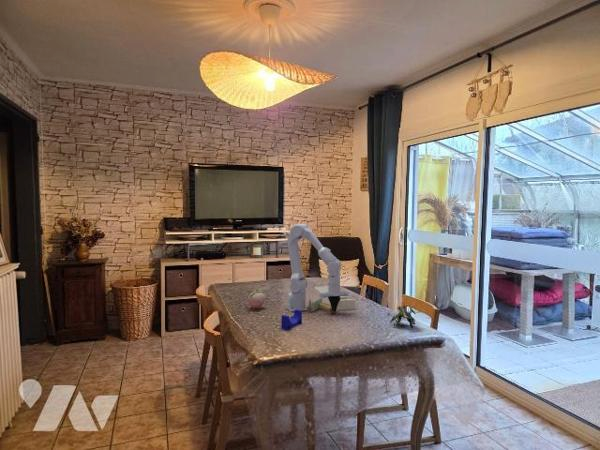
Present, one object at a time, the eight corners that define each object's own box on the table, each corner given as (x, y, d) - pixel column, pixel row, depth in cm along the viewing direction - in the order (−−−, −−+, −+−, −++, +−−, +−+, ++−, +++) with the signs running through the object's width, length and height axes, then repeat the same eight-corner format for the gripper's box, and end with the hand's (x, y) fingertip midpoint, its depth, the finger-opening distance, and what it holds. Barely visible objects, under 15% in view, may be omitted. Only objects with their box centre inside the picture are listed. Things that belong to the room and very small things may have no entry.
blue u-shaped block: (293, 321, 178) (293, 308, 177) (301, 323, 175) (301, 310, 175) (278, 328, 168) (278, 315, 167) (287, 330, 165) (287, 316, 165)
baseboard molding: (326, 300, 219) (346, 299, 222) (326, 295, 219) (346, 294, 221) (311, 288, 249) (329, 288, 252) (311, 284, 249) (329, 283, 252)
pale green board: (309, 312, 192) (309, 300, 192) (308, 311, 193) (308, 300, 193) (355, 308, 200) (355, 297, 199) (354, 308, 201) (354, 297, 201)
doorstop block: (329, 313, 192) (329, 308, 191) (318, 308, 200) (318, 303, 200) (336, 312, 194) (336, 307, 194) (325, 307, 202) (325, 302, 202)
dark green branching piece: (410, 339, 171) (423, 322, 164) (388, 336, 169) (400, 318, 162) (403, 319, 180) (415, 302, 173) (382, 315, 178) (393, 298, 171)
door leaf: (313, 311, 194) (313, 302, 193) (310, 311, 194) (310, 302, 194) (321, 305, 204) (322, 297, 204) (318, 305, 205) (318, 297, 205)
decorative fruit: (256, 305, 204) (256, 287, 203) (268, 308, 199) (268, 289, 199) (243, 309, 196) (244, 290, 196) (255, 312, 192) (256, 292, 191)
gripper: (323, 286, 184) (323, 314, 185) (351, 284, 189) (350, 312, 190) (318, 283, 191) (318, 310, 192) (345, 282, 196) (344, 308, 196)
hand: (334, 311), depth 191 cm, fingers closed
